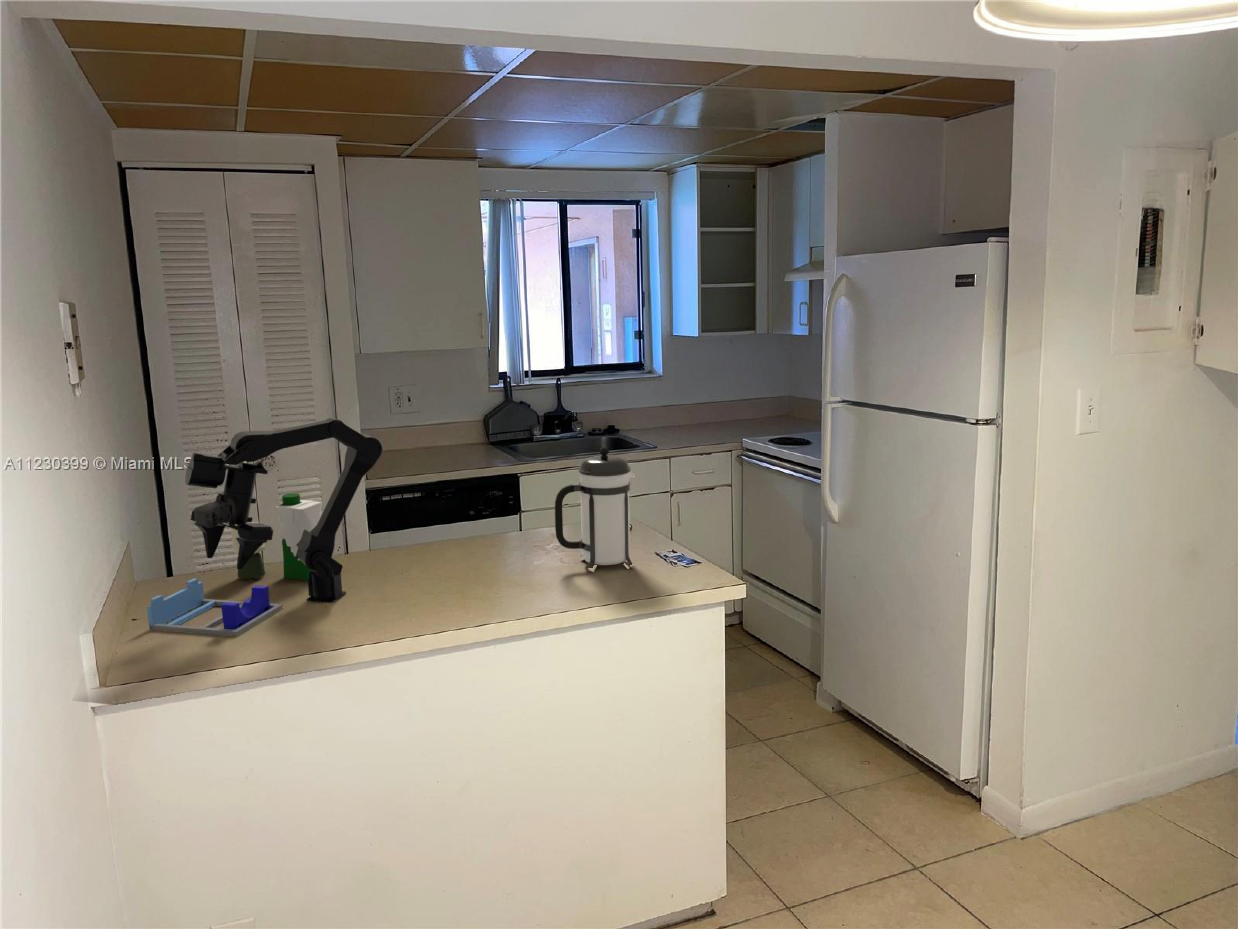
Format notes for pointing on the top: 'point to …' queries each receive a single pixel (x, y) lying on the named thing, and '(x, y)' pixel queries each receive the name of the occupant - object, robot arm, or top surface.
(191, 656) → the top surface
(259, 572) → the character mug
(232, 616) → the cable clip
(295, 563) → the milk carton
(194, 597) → the blue grey rack
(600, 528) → the coffee press
